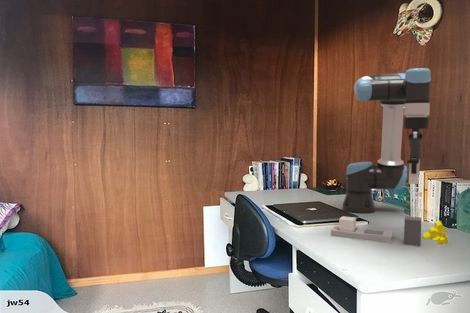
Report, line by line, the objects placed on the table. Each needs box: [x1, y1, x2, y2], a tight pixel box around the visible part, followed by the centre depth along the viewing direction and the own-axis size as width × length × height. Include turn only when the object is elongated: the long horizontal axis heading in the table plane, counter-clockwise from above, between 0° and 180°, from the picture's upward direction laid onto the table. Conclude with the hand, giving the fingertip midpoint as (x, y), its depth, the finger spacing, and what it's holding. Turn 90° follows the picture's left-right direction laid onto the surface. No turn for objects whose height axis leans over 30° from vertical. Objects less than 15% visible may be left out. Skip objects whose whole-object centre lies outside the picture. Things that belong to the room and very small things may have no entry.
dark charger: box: [403, 215, 423, 247], centre depth 129 cm, size 5×5×9 cm
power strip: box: [330, 224, 394, 244], centre depth 137 cm, size 8×20×4 cm, turn 63°
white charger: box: [338, 216, 357, 232], centre depth 139 cm, size 5×5×6 cm
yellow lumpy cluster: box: [422, 220, 449, 245], centre depth 135 cm, size 6×8×8 cm
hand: (414, 180), depth 128 cm, fingers open, 13 cm apart
